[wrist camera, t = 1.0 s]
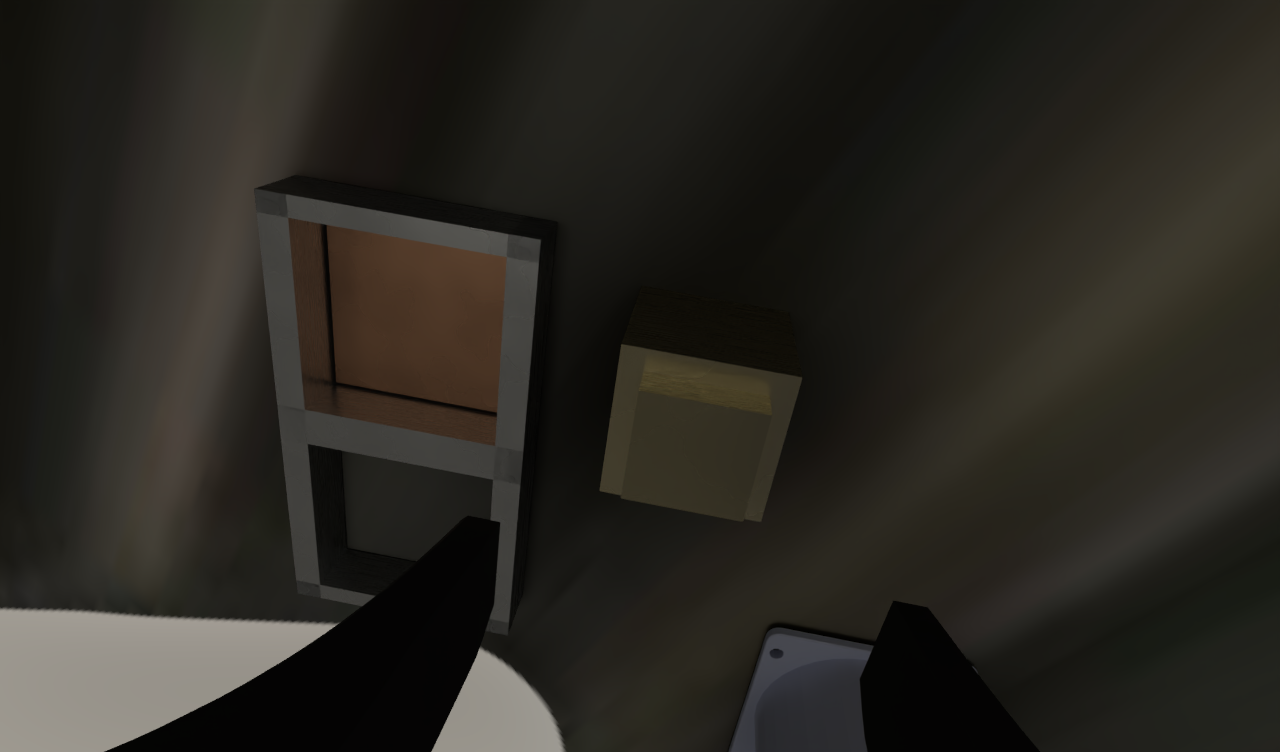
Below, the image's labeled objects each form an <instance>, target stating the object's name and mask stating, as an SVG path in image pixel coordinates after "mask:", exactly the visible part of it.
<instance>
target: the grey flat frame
mask: <svg viewBox="0 0 1280 752" xmlns="http://www.w3.org/2000/svg"><path fill="white" fill-rule="evenodd" d="M254 192H255V201H256V210H257V220H258V229H259V238H260V247H261V257H262V266H263V275H264V285H265V294H266V303H267V313H268V322H269V331H270V340H271V350H272V359H273V368H274V378H275V387H276V396H277V405H278V415H279V424H280V433H281V443H282V452H283V461H284V471H285V480H286V489H287V498H288V508H289V517H290V526H291V536H292V545H293V554H294V563H295V573H296V582H297V591H298V593H300V594H304V595H309V596H314V597H319V598H324V599H329V600H334V601H339V602H344V603H349V604H354V605H359V606H363V605H364V604H366V603H367V602H368V601H370V600H371V599H372V598H374V597H375V596H376V595H377V594H379V593H380V592H381V591H382V590H384V589H385V588H386V587H387V586H389V585H390V584H391V583H392V582H393V581H394V580H396V579H397V578H398V577H399V576H400V575H402V574H403V573H404V572H405V571H406V570H407V569H409V568H410V567H411V566H412V565H413V564H415V563H416V562H412V561H407V560H402V559H397V558H392V557H386V556H381V555H376V554H371V553H366V552H361V551H356V550H351V549H347V543H346V527H345V511H344V494H343V478H342V462H341V450H342V451H347V452H352V453H358V454H363V455H368V456H373V457H378V458H384V459H389V460H394V461H399V462H404V463H409V464H415V465H420V466H425V467H430V468H435V469H441V470H446V471H451V472H456V473H461V474H467V475H472V476H477V477H482V478H487V479H493V489H492V506H491V520H492V521H497V522H500V534H499V548H498V561H497V574H496V587H495V601H494V607H493V610H492V613H491V616H490V619H489V622H488V624H487V627H486V630H485V631H489V632H494V633H499V634H504V635H508V633H509V631H510V628H511V625H512V622H513V620H514V617H515V614H516V612H517V609H518V606H519V603H520V601H521V598H522V593H523V583H524V572H525V561H526V551H527V540H528V529H529V519H530V508H531V497H532V487H533V476H534V465H535V455H536V444H537V433H538V422H539V412H540V401H541V390H542V380H543V369H544V358H545V348H546V337H547V326H548V316H549V305H550V294H551V284H552V273H553V262H554V251H555V241H556V230H557V222H555V221H549V220H544V219H538V218H533V217H527V216H521V215H516V214H510V213H504V212H499V211H493V210H488V209H482V208H476V207H471V206H465V205H460V204H454V203H448V202H443V201H437V200H431V199H426V198H420V197H415V196H409V195H403V194H398V193H392V192H387V191H381V190H375V189H370V188H364V187H358V186H353V185H347V184H342V183H336V182H330V181H325V180H319V179H314V178H308V177H302V176H297V175H294V176H291V177H288V178H285V179H282V180H279V181H276V182H273V183H270V184H267V185H264V186H261V187H258V188H255V189H254Z"/></svg>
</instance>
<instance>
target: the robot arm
mask: <svg viewBox="0 0 1280 752" xmlns="http://www.w3.org/2000/svg"><path fill="white" fill-rule="evenodd" d="M499 534H500V522H497V521H492V520H487V519H482V518H477V517H472V516H467V517H465V518H464V519H462V520H461V521H460V522H459V523H458V524H457V525H456V526H455V527H454V528H453V529H452V530H450V531H449V532H448V533H447V534H446V535H445V536H444V537H443V538H442V539H441V540H440V541H439V542H438V543H437V544H436V545H435V546H433V547H432V548H431V549H430V550H429V551H428V552H427V553H426V554H425V555H423V556H422V557H421V558H420V559H419V560H418V561H417V562H416V563H415V564H413V565H412V566H411V567H410V568H409V569H407V570H406V571H405V572H404V573H403V574H402V575H400V576H399V577H398V578H397V579H396V580H394V581H393V582H392V583H391V584H390V585H389V586H387V587H386V588H385V589H384V590H382V591H381V592H380V593H379V594H377V595H376V596H375V597H374V598H372V599H371V600H370V601H368V602H367V603H366V604H364V605H363V606H362V607H360V608H359V609H358V610H357V611H355V612H354V613H353V614H351V615H350V616H349V617H347V618H346V619H345V620H343V621H342V622H341V623H339V624H338V625H336V626H335V627H334V628H332V629H331V630H329V631H328V632H327V633H325V634H324V635H322V636H321V637H319V638H318V639H316V640H315V641H314V642H312V643H310V644H309V645H307V646H306V647H304V648H303V649H301V650H300V651H298V652H297V653H295V654H293V655H292V656H290V657H289V658H287V659H286V660H284V661H282V662H281V663H279V664H277V665H276V666H274V667H272V668H271V669H269V670H267V671H265V672H264V673H262V674H261V675H259V676H257V677H256V678H254V679H252V680H251V681H249V682H247V683H245V684H243V685H242V686H240V687H238V688H236V689H234V690H233V691H231V692H229V693H227V694H225V695H224V696H222V697H220V698H218V699H216V700H214V701H212V702H210V703H208V704H206V705H204V706H202V707H200V708H198V709H196V710H194V711H192V712H190V713H188V714H186V715H184V716H182V717H180V718H178V719H176V720H174V721H172V722H170V723H168V724H166V725H164V726H162V727H160V728H158V729H156V730H153V731H151V732H149V733H147V734H145V735H143V736H140V737H138V738H136V739H134V740H131V741H129V742H127V743H124V744H122V745H119V746H117V747H115V748H112V749H110V750H107V751H105V752H431V751H432V749H433V747H434V745H435V743H436V741H437V739H438V737H439V735H440V732H441V730H442V728H443V726H444V724H445V722H446V720H447V718H448V716H449V714H450V711H451V709H452V707H453V705H454V703H455V701H456V699H457V697H458V695H459V693H460V690H461V688H462V686H463V684H464V682H465V680H466V678H467V676H468V673H469V671H470V669H471V667H472V665H473V663H474V661H475V658H476V656H477V653H478V650H479V648H480V645H481V642H482V639H483V636H484V633H485V630H486V627H487V624H488V622H489V619H490V616H491V613H492V610H493V607H494V601H495V587H496V574H497V561H498V548H499ZM773 649H780V650H773ZM728 752H1040V751H1039V750H1038V749H1037V748H1036V746H1035V745H1034V744H1033V743H1032V742H1031V741H1030V739H1029V738H1028V737H1027V736H1026V735H1025V733H1024V732H1023V731H1022V730H1021V728H1020V727H1019V726H1018V725H1017V724H1016V722H1015V721H1014V720H1013V719H1012V717H1011V716H1010V715H1009V714H1008V712H1007V711H1006V710H1005V709H1004V707H1003V706H1002V705H1001V703H1000V702H999V701H998V700H997V698H996V697H995V696H994V695H993V693H992V692H991V691H990V689H989V688H988V687H987V685H986V684H985V683H984V682H983V680H982V679H981V678H980V676H979V675H978V672H977V670H976V669H975V668H974V667H973V666H971V664H970V663H969V662H968V660H967V659H966V658H965V656H964V655H963V654H962V652H961V651H960V650H959V648H958V647H957V646H956V644H955V643H954V642H953V640H952V639H951V638H950V636H949V635H948V634H947V632H946V631H945V630H944V628H943V627H942V626H941V624H940V623H939V622H938V620H937V619H936V618H935V616H934V615H933V614H932V612H931V611H930V610H929V609H928V607H923V606H918V605H913V604H908V603H903V602H898V601H893V603H892V605H891V607H890V610H889V612H888V614H887V617H886V619H885V621H884V624H883V626H882V628H881V631H880V633H879V635H878V638H877V640H876V642H875V644H874V646H872V645H867V644H861V643H856V642H851V641H846V640H841V639H836V638H831V637H826V636H821V635H816V634H811V633H806V632H801V631H796V630H791V629H786V628H773V629H771V630H769V631H768V632H767V634H766V636H765V639H764V642H763V646H762V649H761V652H760V655H759V658H758V661H757V664H756V667H755V670H754V673H753V676H752V680H751V683H750V686H749V689H748V692H747V695H746V698H745V701H744V704H743V707H742V710H741V714H740V717H739V720H738V723H737V726H736V729H735V732H734V735H733V738H732V741H731V744H730V748H729V751H728Z"/></svg>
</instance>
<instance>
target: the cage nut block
mask: <svg viewBox="0 0 1280 752" xmlns="http://www.w3.org/2000/svg"><path fill="white" fill-rule="evenodd" d="M802 378H803V377H802V373H801V368H800V363H799V358H798V354H797V349H796V344H795V340H794V335H793V330H792V326H791V321H790V316H789V312H784V311H779V310H773V309H768V308H762V307H757V306H751V305H746V304H740V303H734V302H729V301H723V300H718V299H712V298H707V297H701V296H696V295H690V294H685V293H679V292H674V291H668V290H663V289H657V288H652V287H646V286H642V287H641V289H640V292H639V295H638V298H637V301H636V304H635V307H634V309H633V312H632V315H631V318H630V321H629V324H628V327H627V329H626V332H625V335H624V338H623V341H622V344H621V350H620V357H619V364H618V370H617V377H616V384H615V390H614V397H613V404H612V410H611V417H610V424H609V430H608V437H607V444H606V451H605V457H604V464H603V471H602V477H601V484H600V491H602V492H607V493H613V494H618V495H621V498H622V499H627V500H632V501H637V502H642V503H648V504H653V505H658V506H663V507H668V508H673V509H679V510H684V511H689V512H694V513H699V514H705V515H710V516H715V517H720V518H725V519H730V520H736V521H741V522H743V520H744V519H747V520H753V521H758V522H761V520H762V516H763V513H764V509H765V506H766V503H767V499H768V496H769V492H770V489H771V485H772V482H773V478H774V475H775V471H776V468H777V464H778V461H779V457H780V454H781V451H782V447H783V444H784V440H785V437H786V433H787V430H788V426H789V423H790V419H791V416H792V412H793V409H794V405H795V402H796V399H797V395H798V392H799V388H800V385H801V381H802Z"/></svg>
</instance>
